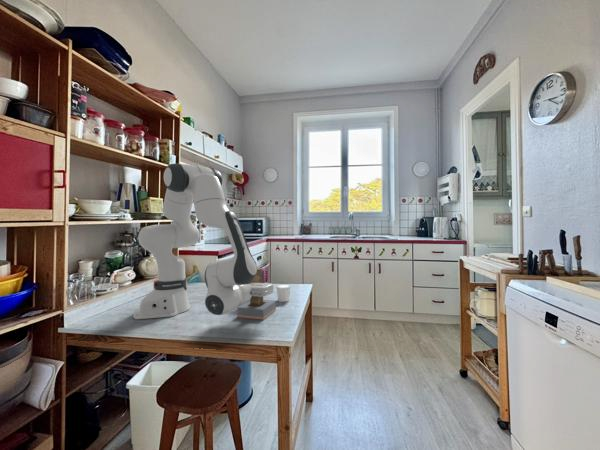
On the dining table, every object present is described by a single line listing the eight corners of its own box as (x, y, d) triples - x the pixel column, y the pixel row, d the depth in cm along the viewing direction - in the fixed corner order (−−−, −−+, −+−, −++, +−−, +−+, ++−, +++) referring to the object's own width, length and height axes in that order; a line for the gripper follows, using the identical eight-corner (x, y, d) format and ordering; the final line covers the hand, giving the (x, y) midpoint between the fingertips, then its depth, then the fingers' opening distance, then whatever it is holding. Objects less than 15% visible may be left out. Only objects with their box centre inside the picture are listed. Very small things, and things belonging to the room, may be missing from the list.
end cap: (263, 319, 105) (263, 309, 105) (237, 316, 109) (237, 307, 109) (275, 309, 117) (275, 300, 117) (251, 307, 121) (251, 298, 120)
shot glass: (276, 298, 134) (276, 284, 134) (290, 297, 135) (289, 284, 134) (276, 302, 127) (276, 288, 127) (290, 301, 128) (290, 287, 128)
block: (259, 312, 110) (257, 270, 110) (250, 312, 112) (249, 269, 111) (263, 309, 114) (262, 268, 114) (255, 309, 115) (253, 267, 115)
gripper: (264, 285, 97) (279, 277, 110) (217, 282, 103) (236, 275, 117) (265, 302, 97) (279, 292, 110) (217, 298, 104) (237, 289, 117)
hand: (257, 283), depth 113 cm, fingers open, 8 cm apart
